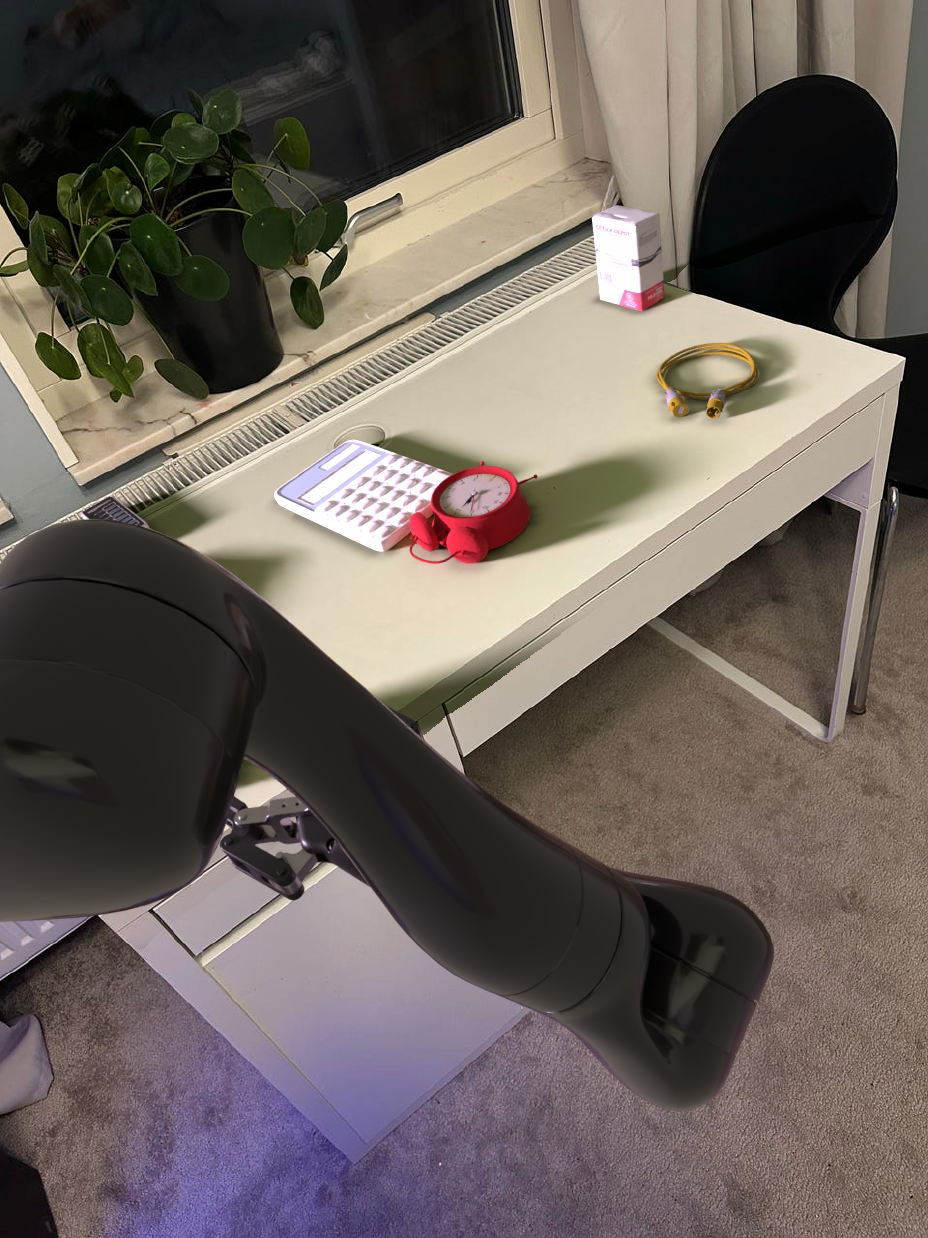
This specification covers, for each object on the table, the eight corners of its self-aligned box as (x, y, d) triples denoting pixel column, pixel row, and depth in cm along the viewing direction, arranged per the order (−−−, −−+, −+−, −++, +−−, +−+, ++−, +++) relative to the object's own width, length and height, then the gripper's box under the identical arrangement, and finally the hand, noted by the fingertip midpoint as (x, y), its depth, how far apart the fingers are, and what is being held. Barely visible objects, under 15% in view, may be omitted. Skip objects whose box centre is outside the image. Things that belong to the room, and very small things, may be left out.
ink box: (666, 297, 118) (662, 210, 110) (641, 312, 116) (634, 224, 108) (623, 286, 124) (615, 202, 116) (598, 299, 122) (589, 215, 114)
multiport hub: (123, 558, 99) (114, 543, 97) (88, 527, 106) (79, 512, 104) (156, 538, 100) (147, 522, 99) (119, 508, 107) (111, 494, 106)
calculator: (384, 556, 88) (379, 542, 87) (273, 504, 100) (267, 491, 99) (469, 488, 94) (465, 474, 93) (355, 447, 106) (350, 433, 105)
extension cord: (619, 407, 100) (618, 391, 98) (691, 345, 107) (690, 330, 105) (712, 428, 92) (712, 412, 91) (782, 361, 99) (783, 345, 98)
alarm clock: (550, 470, 86) (458, 527, 77) (551, 525, 90) (463, 586, 80) (471, 452, 92) (377, 502, 83) (475, 504, 96) (384, 558, 86)
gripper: (483, 727, 52) (306, 648, 61) (332, 913, 45) (156, 794, 54) (505, 796, 57) (338, 714, 66) (372, 974, 50) (205, 855, 59)
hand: (256, 750), depth 60 cm, fingers open, 8 cm apart
